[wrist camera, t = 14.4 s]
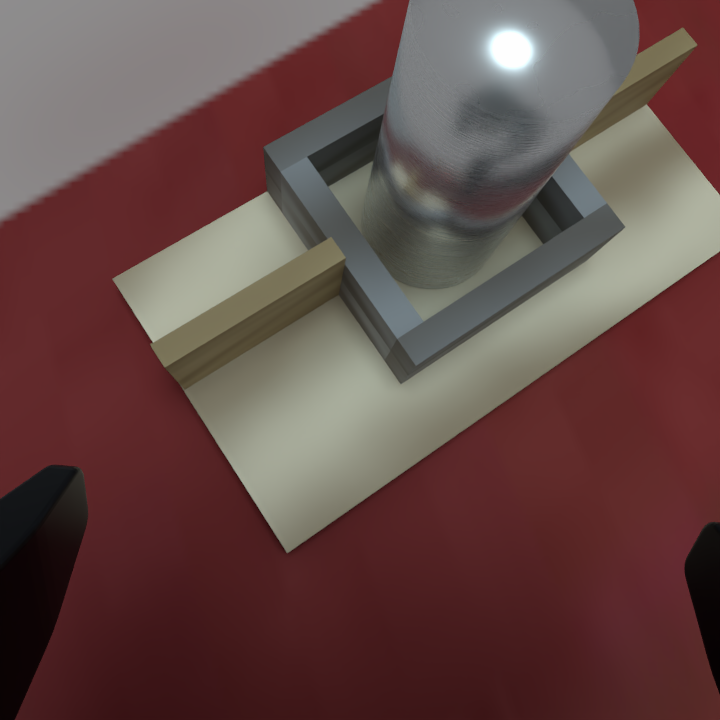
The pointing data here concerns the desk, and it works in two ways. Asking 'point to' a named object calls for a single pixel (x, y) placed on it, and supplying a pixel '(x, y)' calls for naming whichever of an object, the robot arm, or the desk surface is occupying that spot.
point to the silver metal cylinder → (484, 123)
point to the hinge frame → (407, 300)
